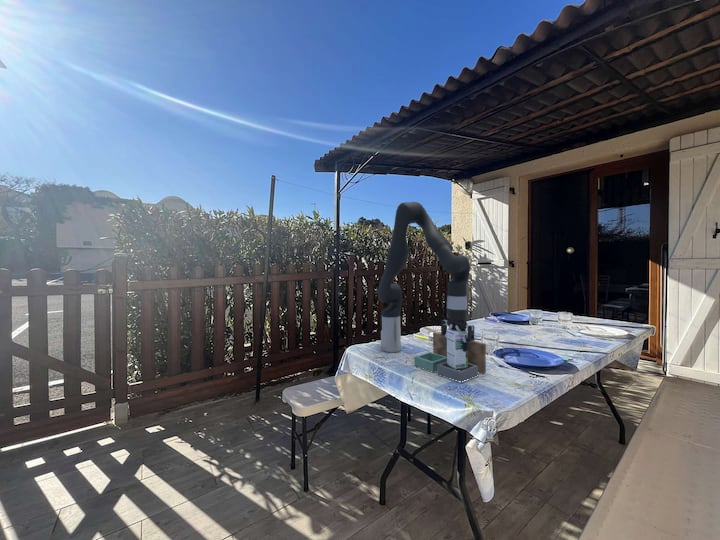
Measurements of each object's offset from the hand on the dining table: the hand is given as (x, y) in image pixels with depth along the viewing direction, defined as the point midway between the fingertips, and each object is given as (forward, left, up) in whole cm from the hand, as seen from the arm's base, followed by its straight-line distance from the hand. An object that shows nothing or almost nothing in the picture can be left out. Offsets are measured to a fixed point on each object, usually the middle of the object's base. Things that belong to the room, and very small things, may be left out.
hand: (457, 348), depth 122 cm
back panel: (-6, +9, -10) cm, 15 cm away
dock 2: (0, 0, -10) cm, 10 cm away
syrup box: (0, 0, -7) cm, 7 cm away
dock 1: (-13, 0, -10) cm, 17 cm away
